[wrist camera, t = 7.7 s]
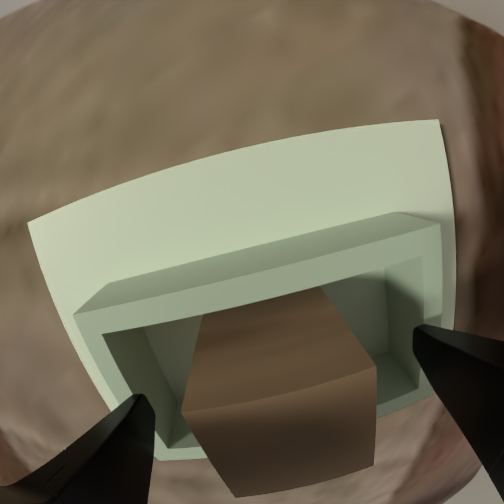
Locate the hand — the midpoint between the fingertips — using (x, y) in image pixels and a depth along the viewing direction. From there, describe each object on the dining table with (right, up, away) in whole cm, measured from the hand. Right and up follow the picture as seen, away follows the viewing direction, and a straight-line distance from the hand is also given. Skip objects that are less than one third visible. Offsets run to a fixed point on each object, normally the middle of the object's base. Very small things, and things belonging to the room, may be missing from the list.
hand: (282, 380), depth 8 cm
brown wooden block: (0, +1, +3) cm, 3 cm away
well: (0, +1, +4) cm, 4 cm away
